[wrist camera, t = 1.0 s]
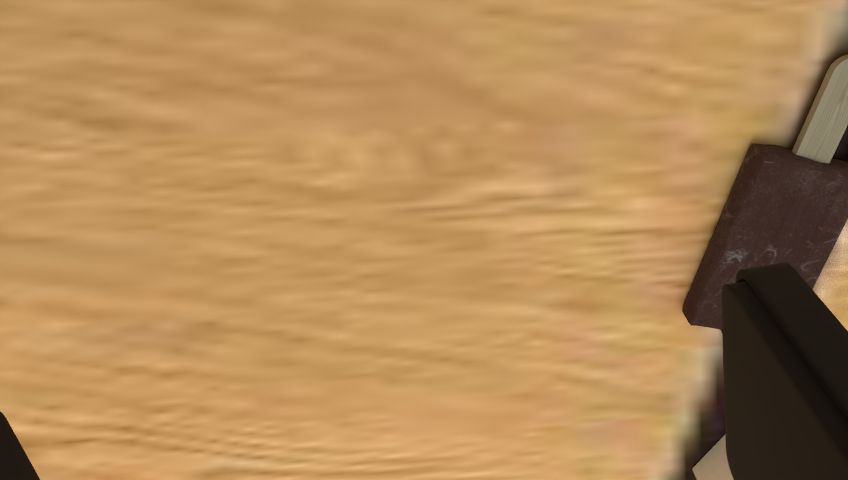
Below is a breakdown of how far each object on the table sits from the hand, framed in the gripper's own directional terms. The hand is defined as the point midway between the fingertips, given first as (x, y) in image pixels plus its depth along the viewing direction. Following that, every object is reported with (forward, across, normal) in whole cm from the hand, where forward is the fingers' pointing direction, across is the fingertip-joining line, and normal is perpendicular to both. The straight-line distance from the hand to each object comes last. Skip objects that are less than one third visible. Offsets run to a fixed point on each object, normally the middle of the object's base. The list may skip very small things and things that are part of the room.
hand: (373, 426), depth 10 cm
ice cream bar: (+27, -16, +13) cm, 34 cm away
